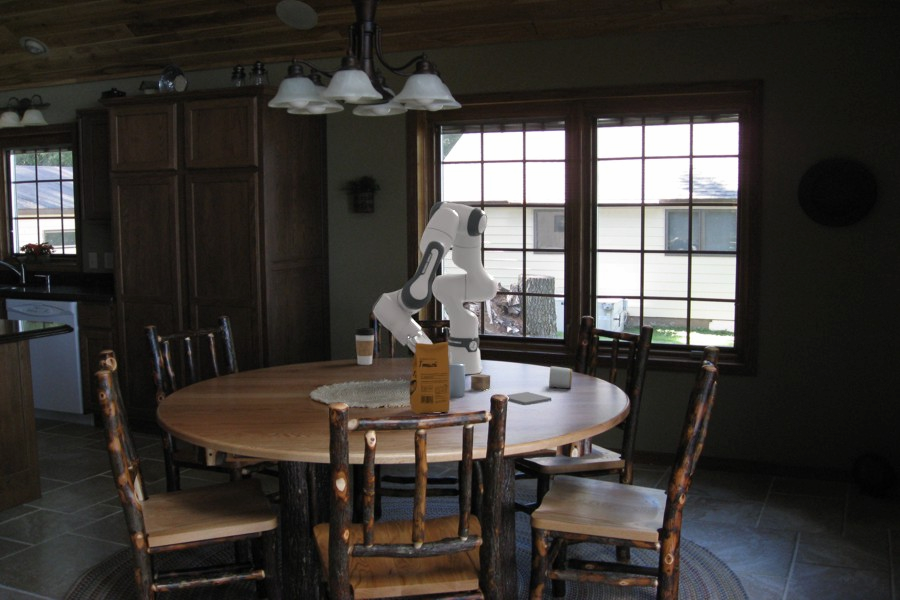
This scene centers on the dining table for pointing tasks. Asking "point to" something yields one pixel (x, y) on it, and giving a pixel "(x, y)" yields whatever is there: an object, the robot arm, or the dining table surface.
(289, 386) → the dining table surface
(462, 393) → the blue-grey tall cylinder
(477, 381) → the walnut block
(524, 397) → the pad
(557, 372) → the grey rounded block
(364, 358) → the coffee cup
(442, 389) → the coffee package
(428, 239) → the robot arm
